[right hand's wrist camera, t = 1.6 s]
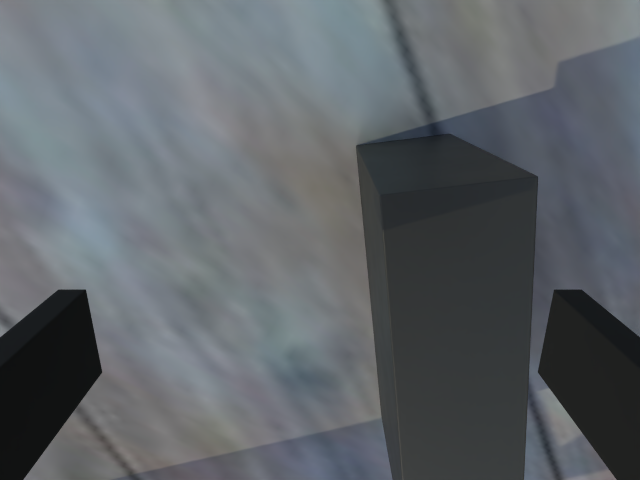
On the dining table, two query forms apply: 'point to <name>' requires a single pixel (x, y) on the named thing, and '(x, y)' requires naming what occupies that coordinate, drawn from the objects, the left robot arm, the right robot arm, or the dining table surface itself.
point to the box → (450, 304)
